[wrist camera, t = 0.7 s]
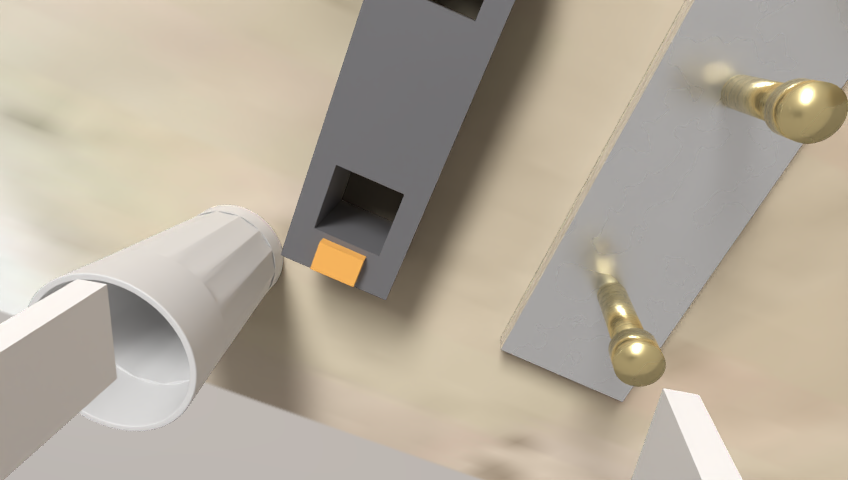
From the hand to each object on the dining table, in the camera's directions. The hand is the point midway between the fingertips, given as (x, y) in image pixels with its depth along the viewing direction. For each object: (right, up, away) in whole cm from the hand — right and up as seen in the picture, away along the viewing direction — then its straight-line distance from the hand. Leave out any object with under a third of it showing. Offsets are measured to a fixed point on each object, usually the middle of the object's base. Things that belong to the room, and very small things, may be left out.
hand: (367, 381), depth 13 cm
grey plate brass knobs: (+14, +6, +17) cm, 23 cm away
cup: (-11, +3, +22) cm, 25 cm away
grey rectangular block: (+1, +12, +17) cm, 20 cm away
